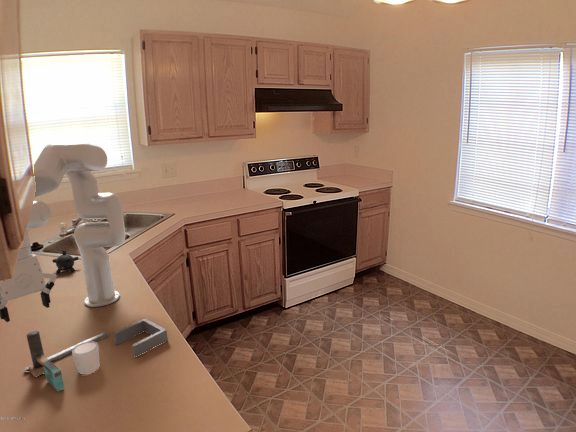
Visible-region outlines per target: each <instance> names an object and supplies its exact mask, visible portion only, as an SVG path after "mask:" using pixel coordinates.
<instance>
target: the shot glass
mask: <svg viewBox="0 0 576 432" xmlns="http://www.w3.org/2000/svg"><path fill="white" fill-rule="evenodd" d="M80 343H81V342H80ZM78 344H79V343H78ZM99 347H100V346H99V343H98V341H96V342H93V341H90V342H85V343H81V344H79V345H77V346H76V347H74V349H73V350H72V353H71V355H72V357H73V360H74V363H75V367H76V369H77V372H79V373H80V374H88V373H92V372H94V371H96V370H97V369H98V368H99V367H100V368H101V365H100V348H99ZM100 368H99V369H100ZM99 369H98V370H99ZM98 370H97V371H98ZM97 371H96V372H97ZM79 373H78V374H79ZM94 373H95V372H94ZM80 374H79V375H80Z"/></svg>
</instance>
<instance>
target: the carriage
mask: <svg viewBox="0 0 576 432" xmlns="http://www.w3.org/2000/svg"><path fill="white" fill-rule="evenodd" d="M26 339H27V345H28V348H29V352H30V358H31V361H32V364H30V365H28V366H27V367H29V371H30V372H31V373H32V374H33V375H34V376H35V377H36V376H38V375H41V374H43V373H45V374H43V375H45V376H44V377H45V380H46V382H48V383H49V385H51V386H52V387H53V388H54V389H55V390H56V391H57V392H60V391H62V390H64V389H65V384H64V379H63V375H62V370H61V369H60V368H59V367H57V366H56V365H55V364H54V363H53V362H51V361H50V360H49V359H47V357H46V356H45V354H44V349H43V344H42V339H41V335H40V331H38V330H34V331H30V332H28V333H27V334H26ZM30 372H29V373H30ZM31 373H30V374H31ZM32 374H31V375H32ZM33 375H32V376H33ZM34 376H33V377H34ZM41 376H42V375H41ZM35 377H34V378H35ZM59 390H60V391H59Z"/></svg>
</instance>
